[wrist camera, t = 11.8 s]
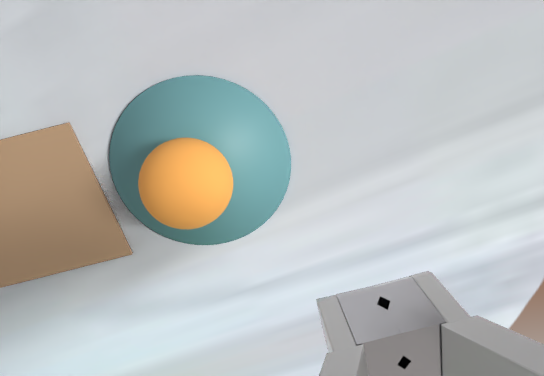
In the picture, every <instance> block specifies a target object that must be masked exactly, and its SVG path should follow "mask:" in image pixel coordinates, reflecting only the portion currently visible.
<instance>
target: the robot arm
mask: <svg viewBox="0 0 544 376" xmlns="http://www.w3.org/2000/svg"><path fill="white" fill-rule="evenodd" d="M317 306H318V310H319V315H320V319H321V324H322V328H323V333H324V337H325V341H326V345H327V349H328V352H329V353H327V354H326V357H325V360H324V363H323V366H322V369H321V372H320V374H319V376H544V344H542V343H539V342H537V341H535V340H532V339H530V338H528V337H525V336H523V335H521V334H519V333H516V332H514V331H512V330H510V329H507V328H505V327H503V326H500V325H498V324H496V323H493V322H491V321H489V320H487V319H484V318H482V317H480V316H473V317H471V316H470V315H469V314H468V313H467V312H466V311H465V310H464V308H463V307H462V306H461V305H460V304H459V303H458V302H457V300H456V299H455V298H454V297H453V296H452V295H451V294H450V293H449V291H448V290H447V289H446V288H445V287H444V286H443V285H442V284H441V282H440V281H439V280H438V279H437V278H436V277H435V276H434V274H433V273H431V272H429V271H426V272H422V273H419V274H415V275H411V276H409V277H404V278H401V279H397V280H393V281H389V282H385V283H381V284H378V285H374V286H371V287H366V288H362V289H357V290H353V291H348V292H344V293H340V294H336V296H335V295H333V296H329V297H324V298H319V299H317Z"/></svg>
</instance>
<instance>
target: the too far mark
mask: <svg viewBox="0 0 544 376" xmlns="http://www.w3.org/2000/svg"><path fill="white" fill-rule="evenodd" d="M132 253H133V252H132V250H131V248H130V246H129V244H128V242H127V240H126V238H125V236H124V234H123V232H122V230H121V228H120V226H119V224H118V222H117V219H116V217H115V215H114V213H113V211H112V209H111V207H110V205H109V203H108V201H107V199H106V197H105V195H104V193H103V191H102V189H101V187H100V184H99V182H98V180H97V178H96V176H95V174H94V172H93V170H92V168H91V166H90V164H89V162H88V160H87V158H86V156H85V154H84V152H83V149H82V147H81V145H80V143H79V141H78V139H77V137H76V135H75V133H74V131H73V129H72V127H71V125H70V123H65V124H61V125H57V126H53V127H49V128H45V129H41V130H37V131H33V132H29V133H25V134H21V135H17V136H13V137H9V138H5V139H2V140H0V288H1V287H5V286H9V285H13V284H17V283H21V282H25V281H29V280H33V279H37V278H41V277H45V276H49V275H52V274H56V273H60V272H64V271H68V270H72V269H76V268H80V267H84V266H88V265H92V264H96V263H100V262H104V261H108V260H112V259H116V258H120V257H123V256H127V255H131V254H132Z"/></svg>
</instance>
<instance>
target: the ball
mask: <svg viewBox="0 0 544 376" xmlns="http://www.w3.org/2000/svg"><path fill="white" fill-rule="evenodd" d="M138 188H139V193H140V197H141V200H142V202H143V204H144V206H145V208H146V209H147V211H148V212H149V213H150V214H151V215H152V216H153V217H154V218H155V219H156V220H158V221H159V222H161V223H162V224H164V225H167V226H169V227H172V228H176V229H196V228H200V227H203V226H205V225H207V224H209V223H211V222H213V221H214V220H215V219H217V218H218V217H219V216H220V215H221V214H222V213H223V212H224V210H225V209H226V207H227V206H228V204H229V201H230V199H231V196H232V192H233V176H232V171H231V168H230V166H229V164H228V162H227V160H226V158H225V157H224V156H223V154H222V153H221V152H220V151H219V150H218V149H216V148H215V147H214V146H212V145H211V144H209V143H207V142H205V141H202V140H199V139H195V138H176V139H172V140H169V141H167V142H164V143H162V144H161V145H159V146H158V147H156V148H155V149H154V150H153V151H152V152H151V153H150V154H149V155H148V156H147V158H146V159H145V161H144V163H143V165H142V167H141V170H140V173H139V179H138Z"/></svg>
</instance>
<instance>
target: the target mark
mask: <svg viewBox="0 0 544 376" xmlns="http://www.w3.org/2000/svg"><path fill="white" fill-rule="evenodd" d="M176 138H195V139H199V140H202V141H205V142H207V143H209V144H211V145H212V146H214V147H215V148H216V149H218V150H219V151H220V152H221V153H222V154H223V156H224V157H225V158H226V160H227V162H228V164H229V166H230V168H231V171H232V176H233V192H232V196H231V199H230V201H229V204H228V206H227V207H226V209H225V210H224V212H223V213H222V214H221V215H220V216H219V217H218V218H217V219H215V220H214V221H213V222H211V223H209V224H207V225H205V226H203V227H200V228H196V229H176V228H172V227H169V226H167V225H164V224H162V223H161V222H159V221H158V220H156V219H155V218H154V217H153V216H152V215H151V214H150V213H149V212H148V211H147V209H146V208H145V206H144V204H143V202H142V200H141V197H140V193H139V188H138V179H139V173H140V170H141V167H142V165H143V163H144V161H145V159H146V158H147V156H148V155H149V154H150V153H151V152H152V151H153V150H154V149H155V148H156V147H158V146H159V145H161V144H162V143H164V142H167V141H169V140H172V139H176ZM109 160H110V170H111V174H112V178H113V182H114V184H115V187H116V189H117V192H118V194H119V195H120V197H121V199H122V201H123V202H124V204H125V205H126V206H127V208H128V209H129V210H130V211H131V212H132V214H133V215H134V216H135V217H136V218H137V219H138V220H140V221H141V222H142V223H143V224H144V225H146V226H147V227H149V228H150V229H152V230H153V231H155V232H156V233H158V234H160V235H162V236H164V237H167V238H170V239H172V240H175V241H179V242H183V243H188V244H195V245H214V244H221V243H226V242H230V241H233V240H236V239H239V238H241V237H244V236H246V235H248V234H249V233H251V232H253V231H255V230H256V229H257V228H259V227H260V226H261V225H263V224H264V223H265V222H266V221H267V220H268V219H269V218H270V217H271V216H272V215H273V213H274V212H275V211H276V210H277V208H278V207H279V205H280V203H281V201H282V200H283V198H284V195H285V193H286V190H287V187H288V184H289V180H290V172H291V156H290V149H289V145H288V141H287V138H286V135H285V133H284V131H283V128H282V126H281V124H280V123H279V121H278V120H277V118H276V116H275V115H274V114H273V112H272V111H271V110H270V109H269V107H268V106H267V105H266V104H265V103H264V102H263V101H261V100H260V99H259V98H258V97H257V96H255V95H254V94H253V93H251V92H250V91H249V90H247V89H245V88H243V87H241V86H239V85H237V84H235V83H233V82H230V81H227V80H225V79H220V78H216V77H211V76H201V75H194V76H182V77H177V78H172V79H169V80H166V81H163V82H160V83H158V84H156V85H154V86H152V87H150V88H148V89H147V90H145V91H144V92H143V93H141V94H140V95H138V96H137V97H136V98H135V99H134V100H133V101H132V102H131V103H130V104H129V105H128V106H127V108H126V109H125V110H124V112H123V113H122V115H121V116H120V118H119V120H118V122H117V124H116V126H115V129H114V132H113V134H112V139H111V143H110V154H109Z"/></svg>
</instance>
